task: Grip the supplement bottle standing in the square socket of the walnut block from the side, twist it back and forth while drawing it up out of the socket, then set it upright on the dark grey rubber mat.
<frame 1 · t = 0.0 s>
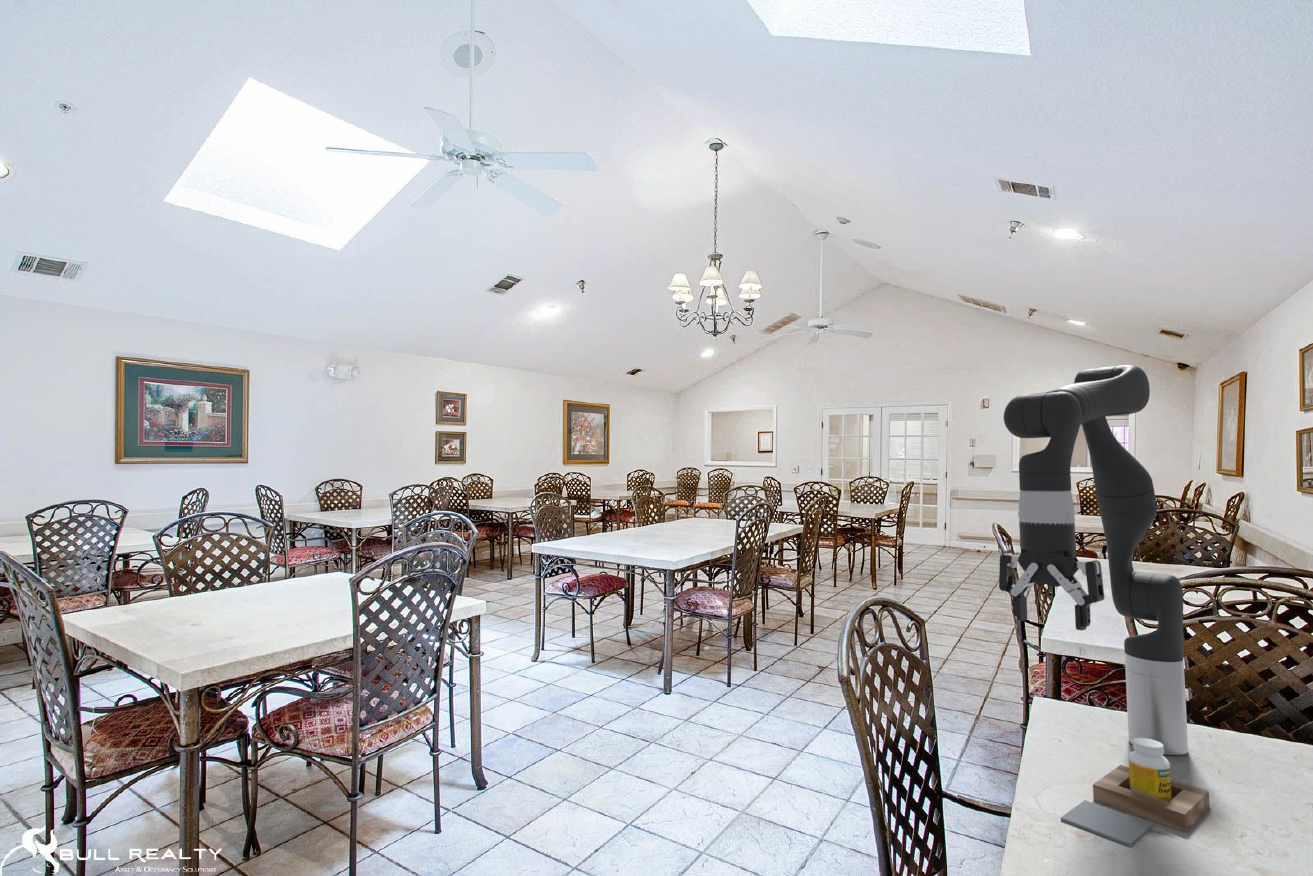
hand: (1050, 624, 102), 29 cm above the table, tool pointing down, fingers open, 8 cm apart
rubber mat: (1106, 823, 99), on the table
socket block: (1151, 803, 105), on the table
supplement bottle: (1151, 805, 105), resting in socket block
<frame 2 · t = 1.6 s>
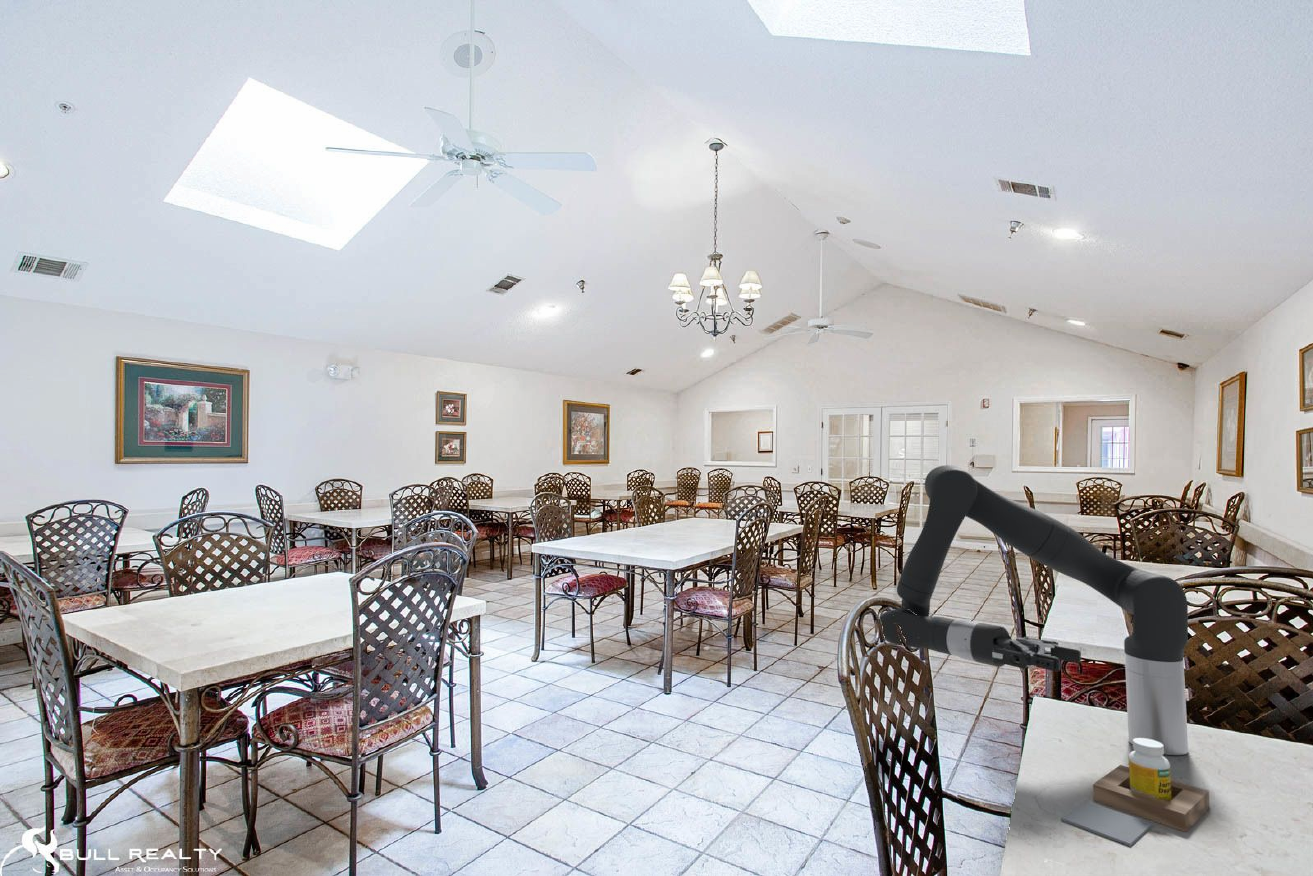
hand: (1070, 661, 115), 20 cm above the table, tool horizontal, fingers open, 8 cm apart
nothing on the table moved.
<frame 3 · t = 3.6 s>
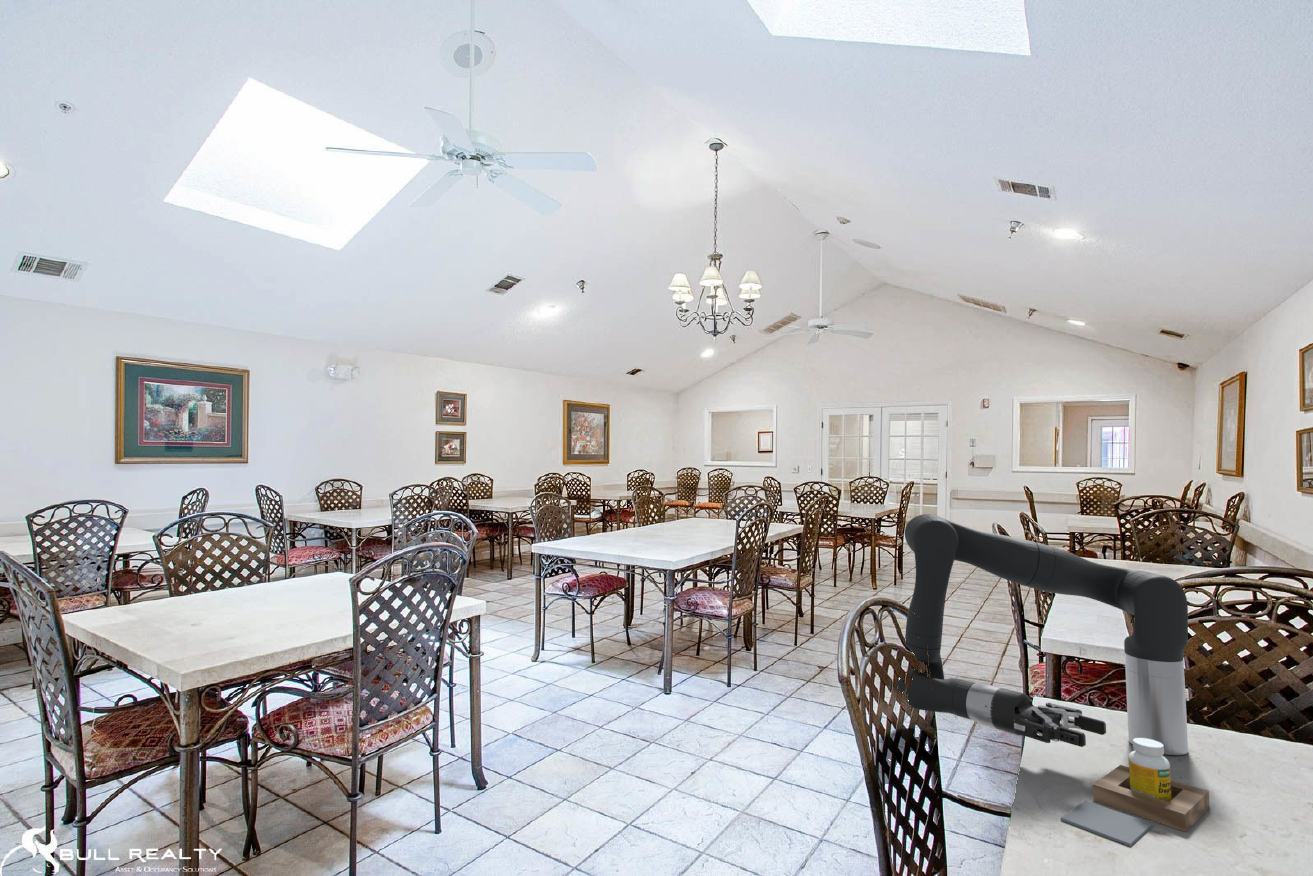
hand: (1095, 734, 111), 9 cm above the table, tool horizontal, fingers open, 8 cm apart
nothing on the table moved.
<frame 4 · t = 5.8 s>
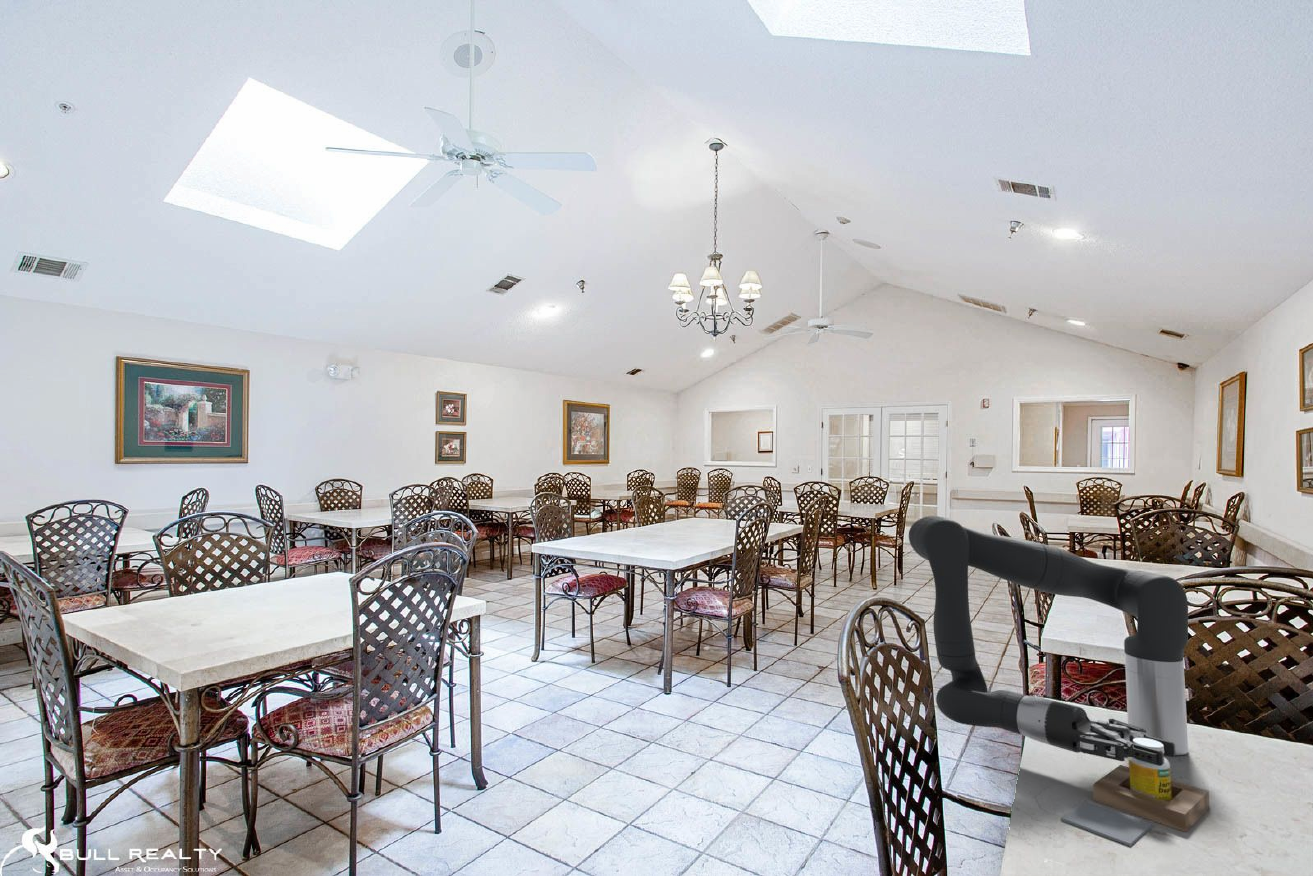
hand: (1168, 754, 103), 9 cm above the table, tool horizontal, fingers closed on supplement bottle, 5 cm apart
supplement bottle: (1151, 805, 105), resting in socket block, touching gripper
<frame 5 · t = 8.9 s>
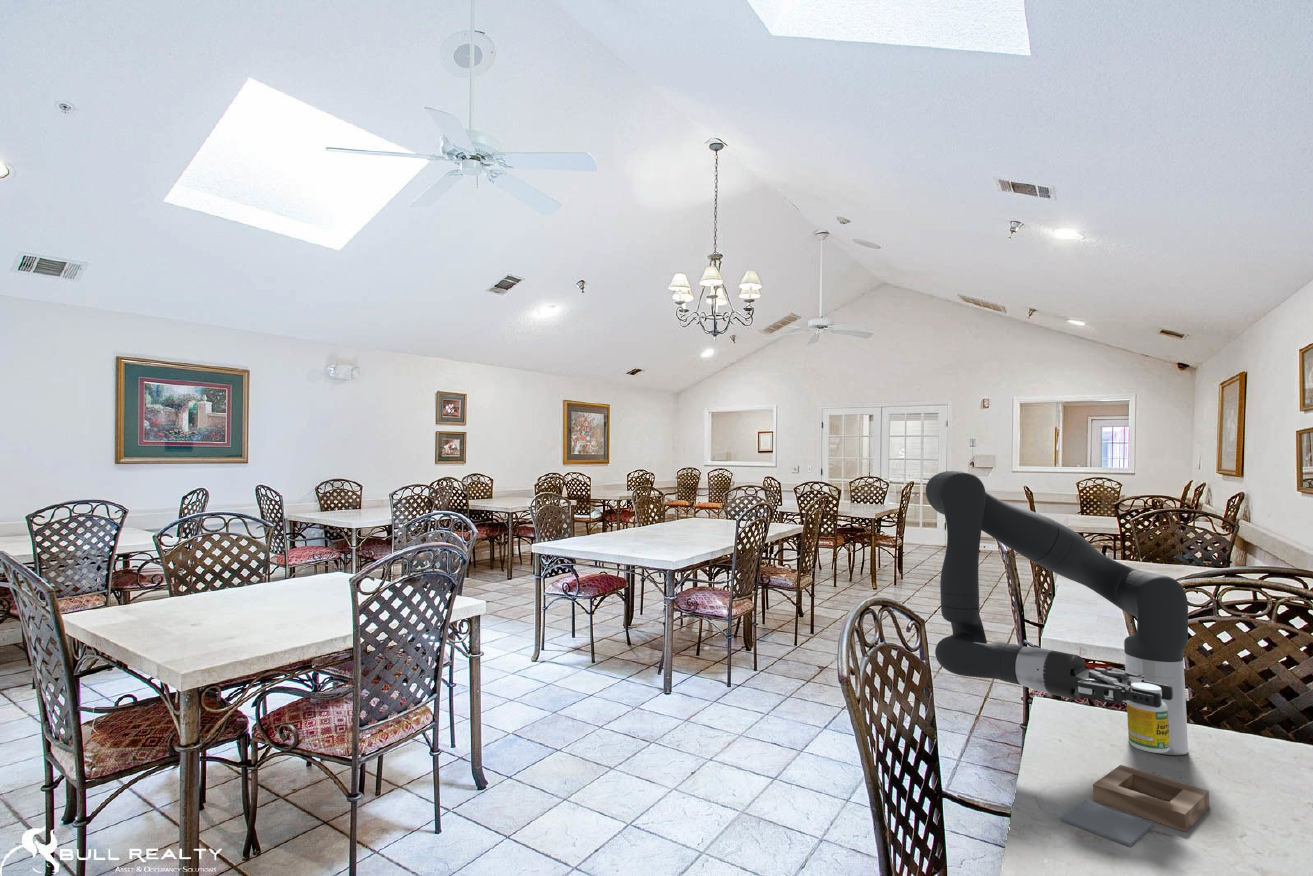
hand: (1165, 697, 104), 17 cm above the table, tool horizontal, fingers closed on supplement bottle, 5 cm apart
supplement bottle: (1149, 748, 105), point 9 cm above the table, touching gripper
when the fingers open (10 cm above the table, at t = 12.2 s): supplement bottle drops 1 cm, resting on rubber mat.
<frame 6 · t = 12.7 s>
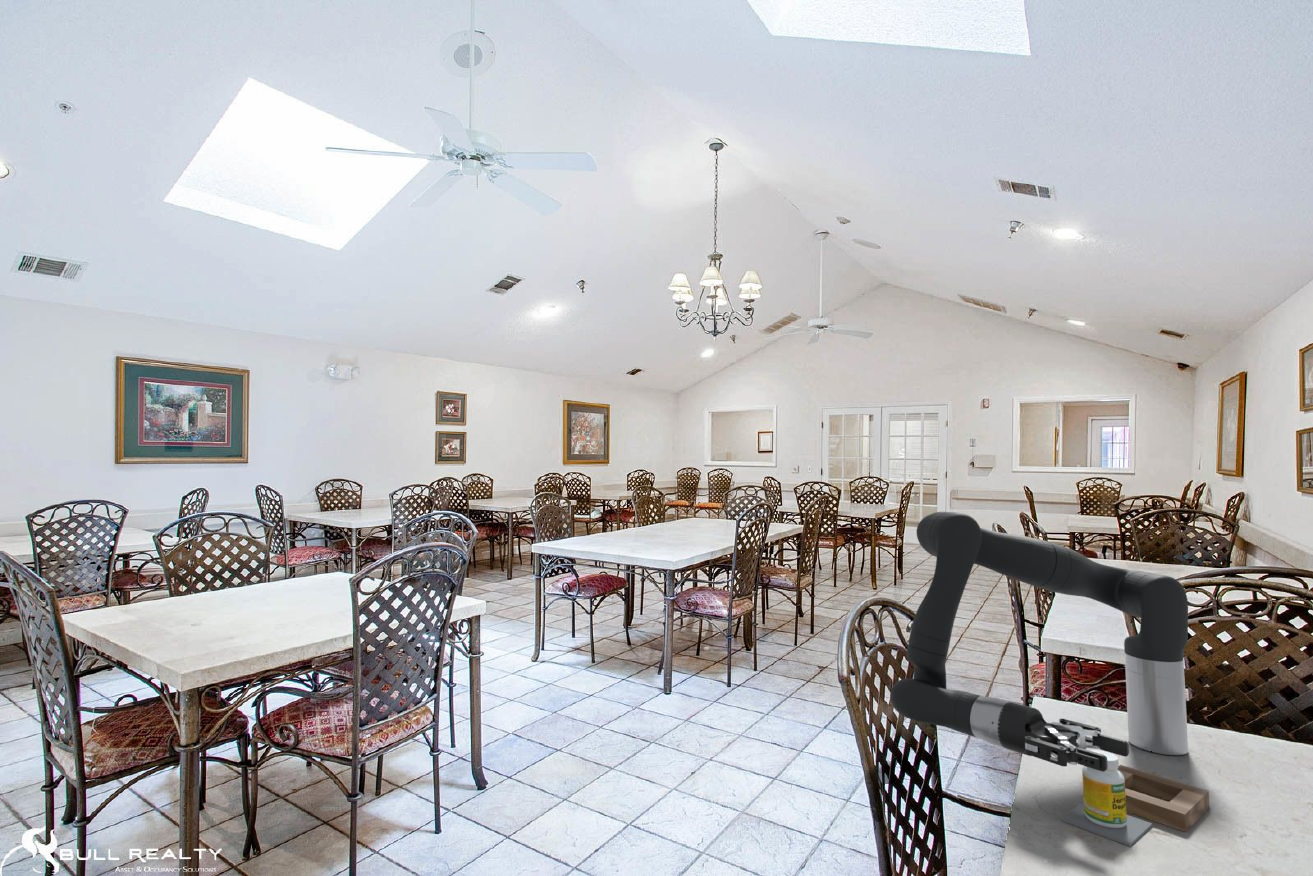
hand: (1117, 756, 98), 10 cm above the table, tool horizontal, fingers open, 8 cm apart
supplement bottle: (1105, 821, 99), resting on rubber mat
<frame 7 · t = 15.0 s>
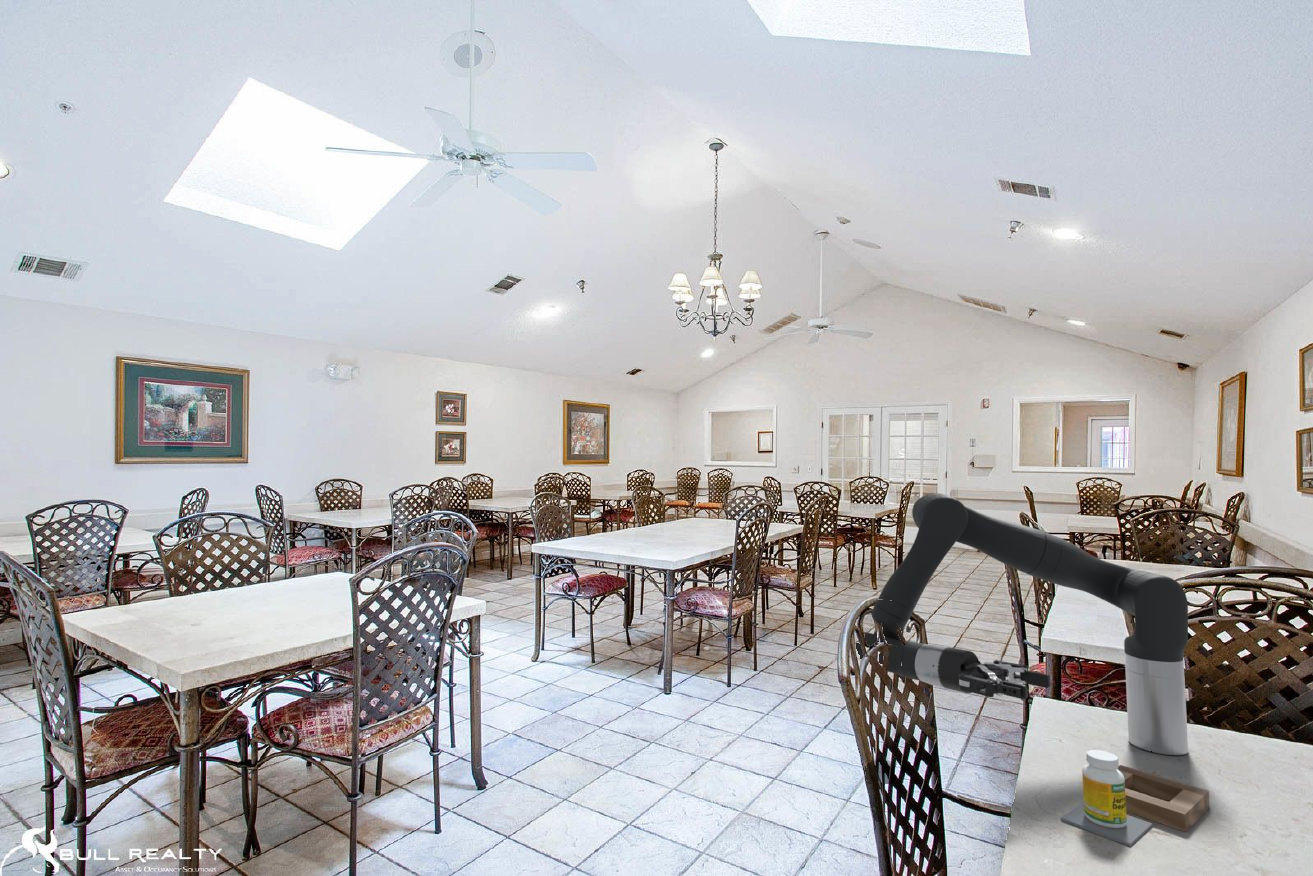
hand: (1038, 687, 111), 17 cm above the table, tool horizontal, fingers open, 8 cm apart
nothing on the table moved.
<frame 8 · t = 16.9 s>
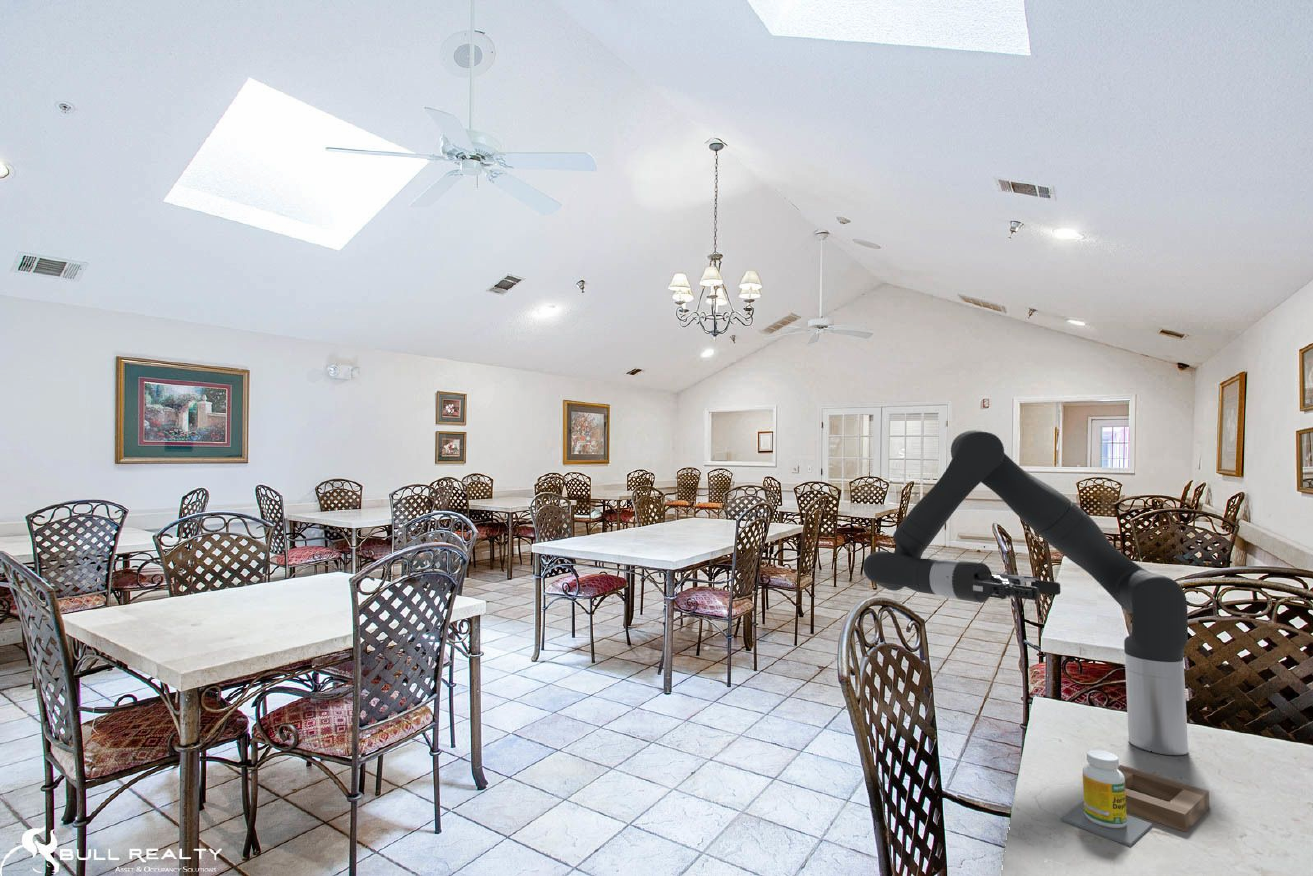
hand: (1049, 591, 116), 32 cm above the table, tool horizontal, fingers open, 8 cm apart
nothing on the table moved.
at the end: supplement bottle inside the target area on the rubber mat (0.1 cm from its centre), point 0.2 cm above the rubber mat's base; supplement bottle tilted 0°; supplement bottle touching rubber mat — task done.
